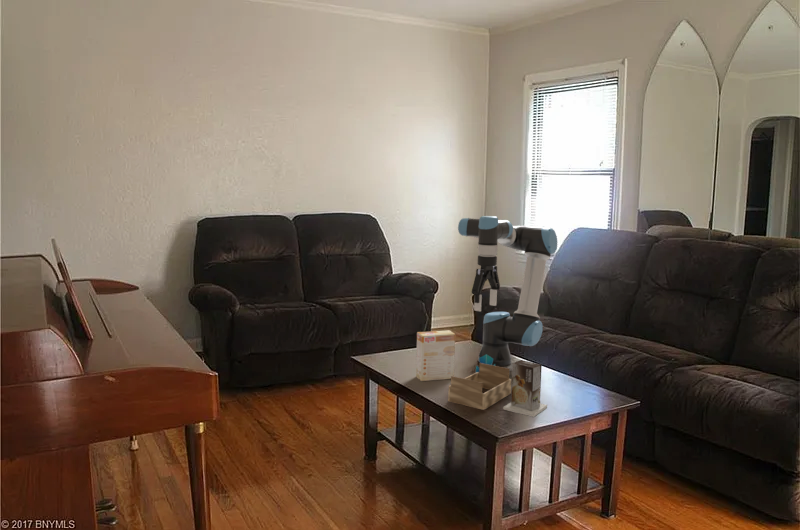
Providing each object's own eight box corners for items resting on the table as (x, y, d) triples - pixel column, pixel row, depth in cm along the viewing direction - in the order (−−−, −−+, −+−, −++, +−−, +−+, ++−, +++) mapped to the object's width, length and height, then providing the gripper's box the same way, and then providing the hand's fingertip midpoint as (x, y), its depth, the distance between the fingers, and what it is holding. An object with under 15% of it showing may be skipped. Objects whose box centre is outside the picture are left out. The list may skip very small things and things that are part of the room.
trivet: (517, 400, 248) (517, 398, 247) (546, 407, 241) (547, 404, 241) (503, 409, 238) (503, 406, 238) (534, 416, 231) (534, 414, 231)
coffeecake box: (448, 374, 280) (449, 329, 277) (454, 378, 273) (456, 333, 270) (415, 376, 275) (416, 331, 273) (420, 381, 268) (422, 335, 266)
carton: (476, 386, 264) (477, 362, 263) (510, 393, 256) (511, 369, 254) (448, 401, 245) (448, 375, 244) (483, 410, 237) (484, 383, 235)
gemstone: (495, 384, 267) (497, 355, 266) (474, 382, 269) (475, 354, 267) (496, 378, 274) (498, 351, 273) (476, 377, 276) (477, 349, 274)
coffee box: (540, 406, 238) (543, 364, 236) (531, 411, 234) (534, 368, 232) (519, 400, 245) (521, 359, 242) (509, 404, 240) (511, 362, 238)
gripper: (492, 251, 269) (490, 302, 272) (463, 257, 248) (462, 311, 251) (509, 253, 265) (507, 304, 268) (481, 259, 244) (479, 314, 247)
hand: (485, 308), depth 259 cm, fingers open, 13 cm apart
